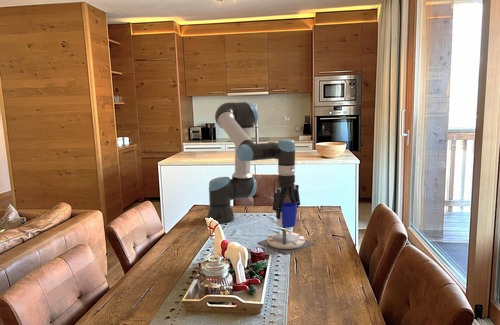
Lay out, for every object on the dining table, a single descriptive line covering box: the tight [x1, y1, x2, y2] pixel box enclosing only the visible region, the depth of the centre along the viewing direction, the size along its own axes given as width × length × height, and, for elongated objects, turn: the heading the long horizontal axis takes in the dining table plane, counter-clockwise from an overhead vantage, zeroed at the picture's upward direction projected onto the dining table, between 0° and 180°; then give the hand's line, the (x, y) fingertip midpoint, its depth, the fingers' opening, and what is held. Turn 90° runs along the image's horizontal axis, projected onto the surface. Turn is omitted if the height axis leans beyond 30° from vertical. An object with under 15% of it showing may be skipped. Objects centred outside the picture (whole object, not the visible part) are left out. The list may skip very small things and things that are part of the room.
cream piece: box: [267, 229, 306, 249], centre depth 172 cm, size 17×17×8 cm
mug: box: [281, 201, 298, 229], centre depth 172 cm, size 8×12×10 cm
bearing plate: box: [257, 229, 315, 255], centre depth 172 cm, size 18×18×3 cm
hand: (286, 223), depth 172 cm, fingers closed on mug, 8 cm apart
